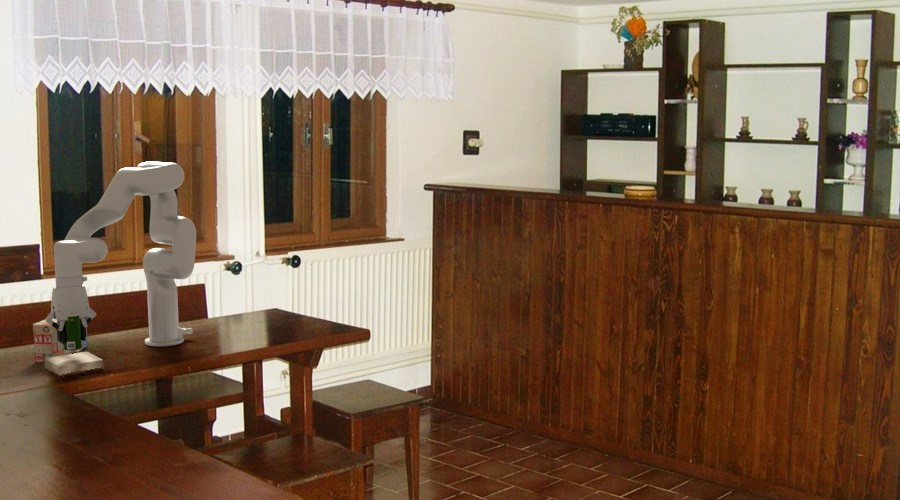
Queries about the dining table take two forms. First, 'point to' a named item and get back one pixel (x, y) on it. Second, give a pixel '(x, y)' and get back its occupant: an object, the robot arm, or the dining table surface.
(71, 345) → the beer can
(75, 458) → the dining table surface
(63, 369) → the birch base block
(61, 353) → the stack of blocks
